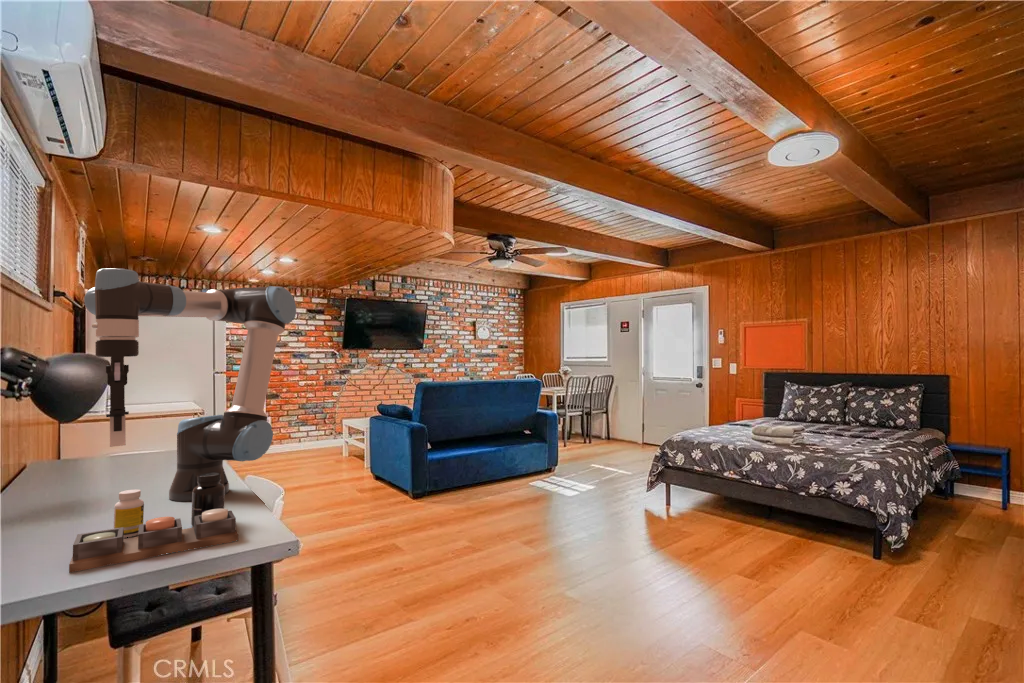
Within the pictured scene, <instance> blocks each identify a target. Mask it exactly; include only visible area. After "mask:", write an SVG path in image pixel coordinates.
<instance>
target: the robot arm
mask: <svg viewBox="0 0 1024 683" xmlns="http://www.w3.org/2000/svg"><path fill="white" fill-rule="evenodd" d="M83 301H84V306H85V308H86V309H87V311H88V312H89V313H90V314H92V315H94V316H95V322H96V323H92V324H91V327H92V328H93V329H95V337H96V338H99V339H96V341H95V342H94V343H95V356H96V357H98V358H110V365H105V373H106V374H107V376H106V377H107V385H108V386H109V387H110V388H109V391H110V392H109V394H110V395H109V396H110V397H109V398H110V399H109V400H110V401H109V402H110V405H109V407H110V408H109V413H106V414H105V416H106V418H109V447H111V448H113V447H122V446H126V438H127V437H126V435H127V434H126V415H127V416H128V415H130V413H129V411H126V406H125V401H126V399H125V396H126V395H125V389H126V388H125V386H126V385H127V384H128V373H129V371H130V370H129V364H125V357H126V358H128V357H137V356H138V355H139V350H140V348H139V343H140V342H139V341H138V339H137V340H136V338H138V337H139V335H140V327H139V326H140V325H139V324H140V320H139V317H164V318H166V317H168V318H169V317H170V318H171V317H172V318H174V317H175V318H206V319H207V320H209V321H216V322H218V321H219V322H227V323H236V324H243V326H244V327H245V329H246V330H247V333H246V338H245V340H244V341H245V342H244V347H243V351H242V355H241V356H242V357H241V361H240V366H239V370H238V375H237V379H236V384H235V389H234V392H233V393H234V394H233V398H232V403H231V406H230V407H229V408H228V409H226V410H224V411H223V412H224V413H223V414H215V415H208V416H200V417H199V416H198V417H193V418H184V419H182V420H180V421H179V423H178V425H177V433H176V438H177V439H176V471H175V474H174V477H173V479H172V482H171V485H170V488H169V490H168V499H169V500H171V501H175V502H190V501H191V502H192V492H193V489H194V488H195V487H196V486H198V483H197V481H198V475H200V474H203V473H211V472H217V473H220V474H221V481H220V482H219V483H221V484H222V485H224V487H225V495H226V494H228V492H229V491H230V483H229V481H228V477H227V475H226V472H225V469H224V465H223V464H224V463H223V461H237V462H250V461H252V462H253V461H256V460H259V459H260V458H262V457H263V456H264V455H265V454H266V453H267V452H268V450H269V449H270V447H271V445H272V443H273V442H272V441H273V438H274V431H273V427H272V425H271V423H269V421H268V415H267V414H266V412H265V411H264V408H265V404H266V397H267V392H268V387H269V382H270V378H271V372H272V367H273V362H274V357H275V352H276V347H277V343H278V339H279V338H278V336H280V335H281V334H282V333H285V329H286V324H291V323H292V322H293V321H294V320H295V318H296V316H297V305H296V301H295V299H294V296H293V295H292V293H291V292H290V291H289V290H288V289H287V288H286V287H284V286H274V285H269V286H255V287H251V286H250V287H248V286H247V287H246V286H245V287H238V288H237V287H236V288H229V289H209V290H207V291H206V292H205V291H193V290H191V291H190V290H189V291H188V290H183V289H181V288H180V287H178V286H174V285H170V284H163V283H162V284H161V283H155V282H154V283H152V282H146V281H144V282H143V281H140V279H139V274H138V272H137V271H135V270H132V269H127V268H126V269H125V268H115V267H114V268H111V267H110V268H107V267H106V268H100V269H98V270H97V271H96V273H95V280H94V287H92V288H90V289H89V290H87V291H86V292H85V294H84V298H83Z"/></svg>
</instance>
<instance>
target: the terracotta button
mask: <svg viewBox="0 0 1024 683" xmlns="http://www.w3.org/2000/svg"><path fill="white" fill-rule="evenodd" d="M175 519H176V517H174V516H160V517H156V518H152V519H148V520H147V521H146V522H145V524H146V532H149V531H155V530H161V529H167V528H174V526H175Z"/></svg>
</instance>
